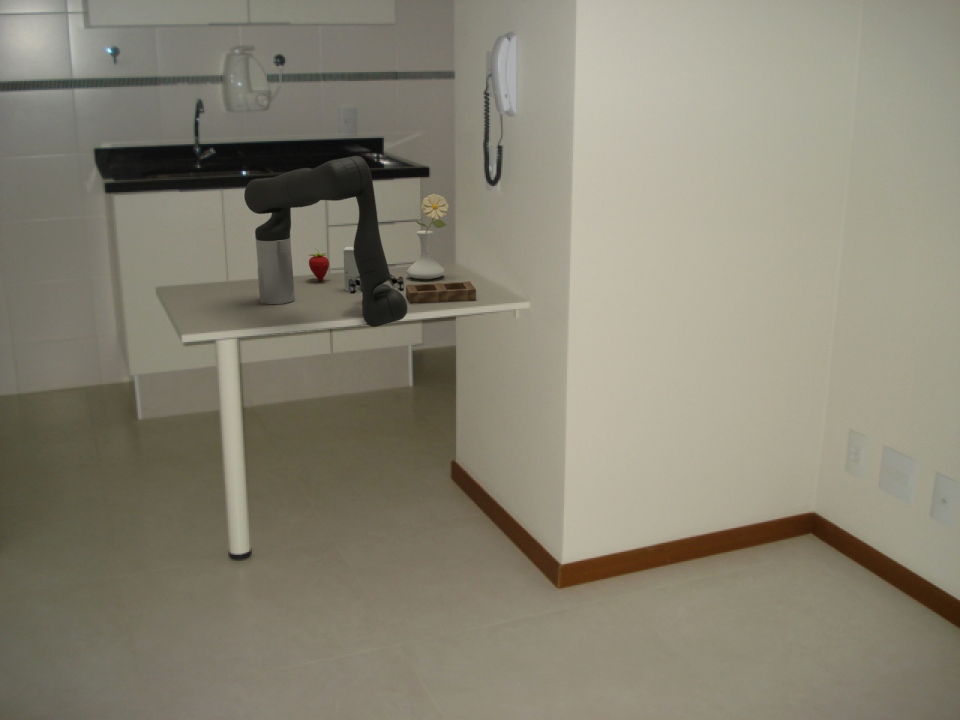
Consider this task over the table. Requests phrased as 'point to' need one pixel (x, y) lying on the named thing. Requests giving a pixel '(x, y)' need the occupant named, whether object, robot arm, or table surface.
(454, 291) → the wooden box
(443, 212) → the flower in vase
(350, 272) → the skincare box
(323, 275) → the strawberry
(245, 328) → the table surface
